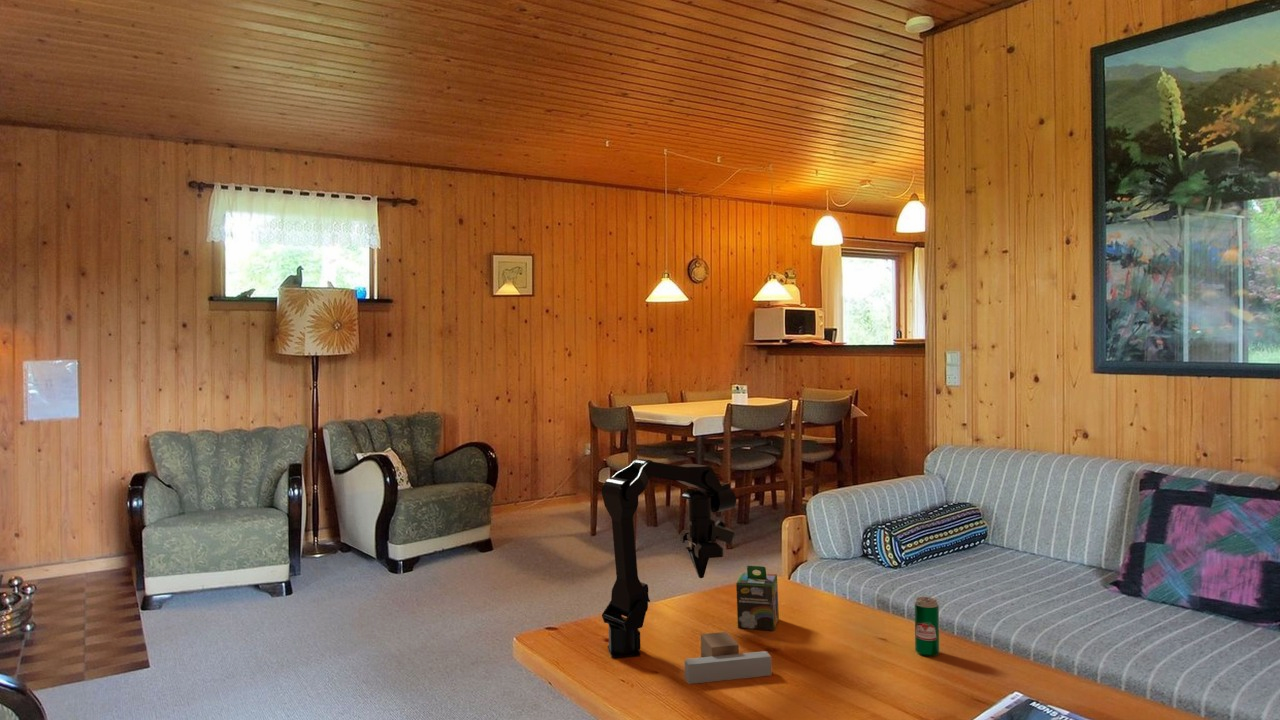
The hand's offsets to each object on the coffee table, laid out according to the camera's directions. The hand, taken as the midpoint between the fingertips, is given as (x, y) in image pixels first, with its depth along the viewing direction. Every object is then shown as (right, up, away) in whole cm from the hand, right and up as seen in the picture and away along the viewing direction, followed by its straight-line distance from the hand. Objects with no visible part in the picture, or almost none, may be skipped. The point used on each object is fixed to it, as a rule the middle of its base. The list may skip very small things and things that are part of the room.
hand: (701, 577), depth 194 cm
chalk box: (+14, -12, +1) cm, 19 cm away
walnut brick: (+2, -12, -25) cm, 28 cm away
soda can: (+49, -12, -20) cm, 54 cm away
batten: (+3, -12, -30) cm, 33 cm away
